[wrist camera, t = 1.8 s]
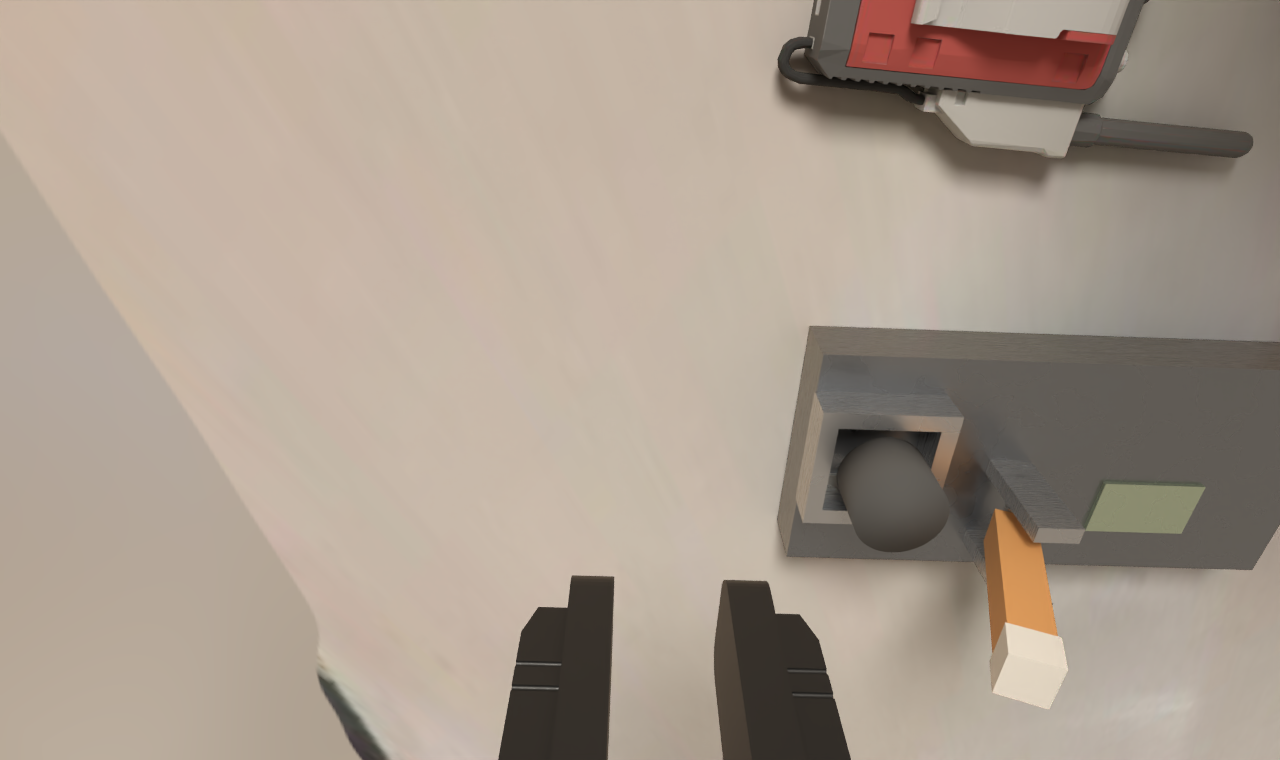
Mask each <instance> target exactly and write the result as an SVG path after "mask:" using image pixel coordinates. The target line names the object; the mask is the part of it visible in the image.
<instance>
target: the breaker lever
mask: <svg viewBox="0 0 1280 760" xmlns="http://www.w3.org/2000/svg"><path fill="white" fill-rule="evenodd" d="M984 552H985V565H986V578H987V590H988V603H989V615H990V628H991V640H992V653H993V654H992V656H991V659H990V672H991V685H992V693H995V694H998V695H1001V696H1005V697H1008V698H1011V699H1015V700H1018V701H1022V702H1025V703H1028V704H1032V705H1035V706H1038V707H1042V708H1045V709H1048V710H1049V709H1050V707H1051V705H1052V703H1053V700H1054V698H1055V696H1056V694H1057V692H1058V690H1059V688H1060V686H1061V684H1062V682H1063V680H1064V678H1065V676H1066V674H1067V672H1068V667H1067V662H1066V656H1065V651H1064V646H1063V640H1062V637H1058V635H1057V629H1056V624H1055V618H1054V613H1053V607H1052V602H1051V596H1050V591H1049V585H1048V580H1047V574H1046V569H1045V563H1044V558H1043V552H1042V547H1041V543H1034V542H1033V541H1032V540H1031V538H1030V537H1029V535H1028V534H1027V533H1026V531H1025V530H1024V528H1023V527H1022V525H1021V524H1020V522H1019V521H1018V520H1017V518H1016V517H1015V515H1014V514H1013V513H1012V512H1007V511H1003V510H999V509H995V510H994V513H993V515H992V518H991V521H990V524H989V527H988V530H987V532H986V535H985V538H984Z"/></svg>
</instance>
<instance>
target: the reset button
mask: <svg viewBox="0 0 1280 760" xmlns="http://www.w3.org/2000/svg"><path fill="white" fill-rule="evenodd" d="M837 485H838V488H839V491H840V493H841V496H842V499H843V501H844V504H845V506H846V509H847V511H848V514H849V517H850V519H851V522H852V524H853V527H854V530H855V532H856V534H857V536H858V538H859V539H860V540H861V541H862V542H863V543H864V544H866V545H867V546H869V547H871V548H873V549H875V550H878V551H883V552H904V551H909V550H912V549H915V548H918V547H920V546H922V545H924V544H926V543H928V542H929V541H931V540H932V539H933V538H935V537H936V536H937V535H938V534H939V533H940V532H941V530H942V529H943V528H944V526H945V524H946V523H947V520H948V517H949V512H950V506H949V501H948V498H947V496H946V495H945V493H944V491H943V489H942V488H941V486H940V484H939V483H938V481H937V479H936V478H935V476H934V474H933V472H932V471H931V469H930V467H929V466H928V464H927V462H926V460H925V459H924V457H923V455H922V454H921V452H920V451H919V450H918V449H917V448H916V447H915V446H914V445H913V444H911V443H909V442H907V441H905V440H902V439H898V438H891V437H884V438H877V439H873V440H870V441H867V442H864V443H862V444H860V445H859V446H857V447H855V448H854V449H853V450H851V451H850V452H849V453H848V454H847V455H846V456H845V458H844V459H843V460H842V462H841V464H840V466H839V468H838V471H837Z"/></svg>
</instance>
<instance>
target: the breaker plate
mask: <svg viewBox="0 0 1280 760" xmlns="http://www.w3.org/2000/svg"><path fill="white" fill-rule="evenodd" d="M884 437H891V438H898V439H902V440H905V441H907V442H909V443H911V444H913V445H914V446H915V447H916V448H917V449H918V450H919V451H920V452H921V454H922V455H923V457H924V459H925V460H926V462H927V464H928V466H929V467H930V469H931V471H932V472H933V474H934V476H935V478H936V479H937V481H938V483H939V484H940V486H941V488H942V489H943V491H944V493H945V495H946V496H947V498H948V501H949V506H950V512H949V517H948V520H947V523H946V524H945V526H944V528H943V529H942V530H941V532H940V533H939V534H938V535H937V536H936V537H935V538H933V539H932V540H931V541H929V542H928V543H926V544H924V545H922V546H920V547H918V548H915V549H912V550H909V551H904V552H883V551H878V550H875V549H873V548H871V547H869V546H867V545H866V544H864V543H863V542H862V541H861V540H860V539H859V538H858V536H857V534H856V532H855V530H854V527H853V524H852V522H851V519H850V517H849V514H848V511H847V509H846V506H845V504H844V501H843V499H842V496H841V493H840V491H839V488H838V485H837V471H838V468H839V466H840V464H841V462H842V460H843V459H844V458H845V456H846V455H847V454H848V453H849V452H850V451H851V450H853V449H854V448H855V447H857V446H859V445H860V444H862V443H864V442H867V441H870V440H873V439H877V438H884ZM995 509H999V510H1003V511H1007V512H1012V513H1013V514H1014V515H1015V517H1016V518H1017V520H1018V521H1019V522H1020V524H1021V525H1022V527H1023V528H1024V530H1025V531H1026V533H1027V534H1028V535H1029V537H1030V538H1031V540H1032V541H1033V542H1034V543H1041V547H1042V552H1043V558H1044V563H1045V564H1064V565H1099V566H1133V567H1167V568H1202V569H1236V570H1252V569H1253V568H1254V566H1255V564H1256V563H1257V561H1258V559H1259V558H1260V556H1261V554H1262V553H1263V551H1264V550H1265V548H1266V546H1267V545H1268V543H1269V541H1270V540H1271V538H1272V536H1273V535H1274V533H1275V531H1276V530H1277V528H1278V526H1279V525H1280V342H1251V341H1223V340H1195V339H1166V338H1138V337H1109V336H1081V335H1053V334H1024V333H996V332H967V331H939V330H910V329H882V328H854V327H825V326H810V328H809V334H808V339H807V345H806V351H805V357H804V363H803V369H802V375H801V381H800V387H799V393H798V399H797V405H796V411H795V417H794V423H793V429H792V434H791V440H790V446H789V452H788V458H787V464H786V470H785V476H784V482H783V488H782V494H781V500H780V506H779V512H778V518H777V520H778V524H779V528H780V532H781V536H782V540H783V544H784V548H785V552H786V556H789V557H823V558H858V559H892V560H927V561H961V562H974V563H975V564H976V566H977V568H978V570H979V571H980V573H981V575H982V577H983V579H984V580H985V582H986V584H987V578H986V565H985V552H984V538H985V535H986V532H987V530H988V527H989V524H990V521H991V518H992V515H993V513H994V510H995ZM1052 605H1053V603H1052Z"/></svg>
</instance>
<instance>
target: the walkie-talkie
mask: <svg viewBox="0 0 1280 760" xmlns="http://www.w3.org/2000/svg"><path fill="white" fill-rule="evenodd" d="M1148 1H1149V0H814V3H813V9H812V14H811V20H810V25H809V31H808V36H807V37H797V38H794V39H790V40H789V41H788V42H787V43H786V44H784V45H783V47H782V50H781V52H780V55H779V57H778V68H779V70H780V72H781V73H782V74H783V75H784V76H785V77H786V78H788V79H789V80H792V81H794V82H796V83H799V84H809V85H819V86H829V87H840V88H850V89H860V90H871V91H879V92H886V93H894V94H898V95H900V96H901V97H903V98H904V99H905V100H906V101H909V102H910V103H913V104H915V106H914V107H915V108H917V109H919V110H922V111H924V112H934V113H935V114H936V115H937V116H938V117H939V119H940V120H941V121H942V122H943V123H944V124H945V125H946V127H947V128H948V129H949V130H950V131H951V132H952V134H953V135H954V136H955V137H956V138H957V139H959V140H961V141H963V142H965V143H967V144H969V145H971V146H976V147H986V148H996V149H1006V150H1016V151H1025V152H1035V153H1037V154H1039V155H1041V156H1044V157H1047V158H1061V159H1063V158H1064V157H1065V156H1066V153H1067V151H1068V148H1069V146H1080V147H1089V146H1091V145H1093V144H1095V145H1105V146H1116V147H1126V148H1137V149H1147V150H1158V151H1168V152H1179V153H1190V154H1200V155H1211V156H1221V157H1232V158H1237V157H1241V156H1243V155H1245V154H1247V153H1248V152H1249V151H1250V149H1251V148H1252V146H1253V138H1252V136H1251V135H1249V134H1248V133H1246V132H1238V131H1228V130H1218V129H1208V128H1198V127H1188V126H1178V125H1168V124H1158V123H1147V122H1137V121H1127V120H1117V119H1107V118H1101V117H1100V115H1098V114H1091V113H1082V110H1083V107H1084V104H1091V103H1093V102H1095V101H1097V100H1098V99H1100V98H1102V97H1103V96H1104V95H1105V93H1106V92H1107V90H1108V88H1109V87H1110V85H1111V84H1112V82H1113V80H1114V79H1115V76H1116V74H1117V73H1118V72H1121V71H1122V70H1123V69H1124V67H1125V65H1126V63H1127V61H1128V52H1127V51H1126V48H1127V45H1128V42H1129V40H1130V37H1131V34H1132V32H1133V29H1134V26H1135V24H1136V21H1137V19H1138V16H1139V13H1140V11H1141V8H1142V5H1143V4H1145V3H1146V2H1148ZM802 48H805V52H804V54H805V56H806V57H807V58H808V60H809V61H810V63H811V64H812V65H813V67H814V68H815V70H816V71H817V72H818V73H820V74H822V75H819V74H809V73H801V72H797V71H795V70H793V69H792V68H791V67H790V66H789V59H790V57H791V54H792V53H793V52H794V51H795V50H796V49H802ZM902 84H905V85H908V86H910V87H916V85H918V86H921V87H923V88H924V91H918V94H916V93H914V92H913V91H912V90H910V89H909V88H908V87H907V86H904V85H902Z"/></svg>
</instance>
